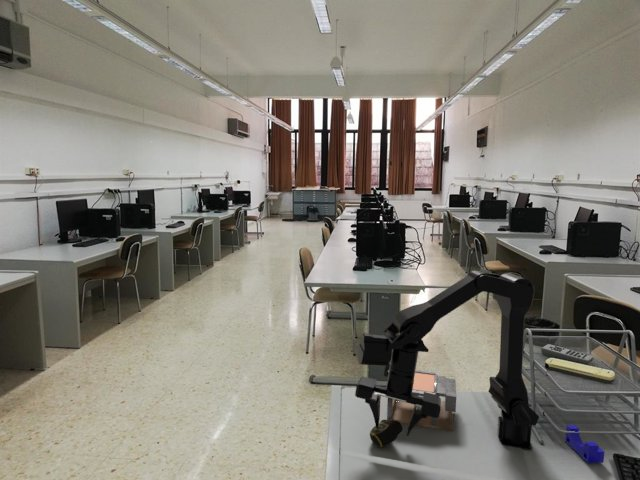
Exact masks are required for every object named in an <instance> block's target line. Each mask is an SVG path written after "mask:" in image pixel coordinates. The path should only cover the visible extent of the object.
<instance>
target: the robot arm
mask: <svg viewBox="0 0 640 480" xmlns="http://www.w3.org/2000/svg"><path fill="white" fill-rule="evenodd" d="M483 292H486V293H490V294H493V295H495V298H496V301H497V305H498V306H499V309H500V312H501V318H500V319H501V321H500V343H499V344H500V346H499V368H498V372H497V374H496V375H495V376H490V377H489V389H488V391H487V392H488V393H489V394H490V396H491V398H492V400H493V401H494V402H495V403H496V405H497V407H498V408H499V409H500V410H501V411H500V415H499V416H498V417H497V430H496V431H497V432H496V434H497V437H498V439H499V440H500V444H501V445H503V446H507V447H512V448H520V449H523V450H528V451H529V450H533V446H532V444H531V440H532V426H536V425H537V423H538V421H539V418H540V416H539V415H538V414H537V412H535V411H534V410H533V409H532V408H531V407H530V402H529V400H530V399H529V394H528V389H527V386H526V384H525V381H524V378H523V363H524V362H523V359H524V358H523V357H524V355H523V354H524V339H525V337H524V336H525V319H526V318H525V317H526V316H527V315H526V314H527V313H528V312H529V311H530V309H531V307H532V304H533V301H534V296H535V286H534V284H532V282H531V281H530V280H529V279H526V278H524V277H522V276H519V275H517V274H514V273H512V272H511V273H510V272H506V273H502V274H501V275H500V274H496V273H491V272H490V273H489V272H482V271H480V270H471V271H470V272H469V273H468V274H467V275H466V276H464V277H463V278H461V279H460V280H458V281H457V282H455V283H454V284H452V285H450V286H449V287H448V288H446V289H444V290H443V291H441V292H440V293H438V294H437V295H435V296H434V297H432V298H430V299H429V300H428V301H425V302H423V303H420V304H414V305H410V306H408V307H406V308H404V309H401V310H399V311H398V312H397V313H395V315H394V318H393V319H394V320H393V321H392V322H391V323H390V324H389V325H388V326H387V327H386V328H385V329H384V331H382V335H381V334H380V335H379V334H371V333H367V332H363V333H362V337H361V338H360V341H359V343H358V344H357V362H358V364H359V365H361V366H362V365H363V366H376V367H384V371H383V377H384V378H387V381H386V387H383V386H380V385H377V384H378V380H377V379H374V378H371V377H367V376H362V377H360V378H359V380H358V382H357V384H356V387H355V393H354V396H355V397H356V398H358V399H362V400H364V402H365V403H366V404H368V405H369V408H370V409H371V413H372V415H373V419H374V423H375V426H376V427H378V426H379V423H380V421H381V420H380V417H381V416H380V415H381V414H380V413H381V399H382V397H385V398H387V399H388V398H391V399H395V400H399V401H403V402H407V403H410V404H414V409H413V412H412V415H411V419H410V422H409V424H407V429H406V436H407V437H408V436H410V434H411V433H412V431H413V429H414V428H415V426H417V425H416V424H417V423H418V422H419V421H420V420H421V419H422V418H425V419H426V418H427V416H430V417H434V418H439V414H440V408H441V401H442V398H441V396H439V395H435V394H431V393H427V392H424V394H423V396H416V395H412V390H413V384H414V376H415V370H417V365H418V364H417V362H418V358H419V352H422V353H428V352H429V348H428V347H427V346H426V345H425V343H424V340H423V338H425V337H426V336H427V335H428V334H429V333H430V332H432V330H433V328H434V327H435V325H436V324H437V322H439V321H440V320H441V319H443V317H446V316H447V315H449V314H450V313H452V312H454V311H455V310H456V309H458V308H459V307H460V306H463V305H464V304H466V303H467V302H469V301H470V300H473V299H474V298H475V297H477V296H478V295H479V294H481V293H483ZM397 334H398V335H397Z"/></svg>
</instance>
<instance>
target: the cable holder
mask: <svg viewBox="0 0 640 480" xmlns="http://www.w3.org/2000/svg"><path fill="white" fill-rule="evenodd" d="M566 430H567V431H575V432H578V431H579V433H566V432H565V438H564V439H565V440H566V441H567V442H568V443H567V442H566V441H565V442H566V443H567V444H568V445H569V444H570V445H569V447H571V448H572V449H573V451H575V452H576V454H578V455H579V456H580V457H581V458H582V460H584V461H586V463H588V464H596V463H599V464H601V463H603V464H604V459H605V450H603V449H602V448H601V447H600V446H599V445H598V444H597V443H596V442H595V441H584V442H583V441H582V439H581V436H580V428H579V427H578V426H577V425H576V424H573V425H572V424H570V425H569V424H566V429H565V431H566Z"/></svg>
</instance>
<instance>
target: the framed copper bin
mask: <svg viewBox="0 0 640 480" xmlns="http://www.w3.org/2000/svg"><path fill="white" fill-rule="evenodd" d="M415 373H421V374H429V375H437V372H436V371H427V370H420V369H416V370H415ZM427 393H431V394H435V393H432V392H427ZM423 394H424V391H417V390H412V395H416V396H423ZM396 401H397V402H396ZM398 401H399V400H395V399H391V398H387V405H386V406H387V407H386V409H387V411H386V420H391V421H398V422H400V423H401V424H406V425H409V422H410V419H411V415H412V412H413V409H414V404H410V403H407V402H403V401H399V402H398ZM453 419H454V418H453V412H451V411H445V400H444V401H443V400H441V408H440V414H439V418H434V417H430V416H427V418H426V419H425V418H422V419H421V420H420V421H419V422H418V423H417V424H416V425H415V426H418V427H424V428H425V427H426V428H430V429H431V428H432V429H436V430H437V429H438V430H444V431H448V432H449V431H450V432H454V428H453V427H454V425H453V423H454V422H453V421H454V420H453Z"/></svg>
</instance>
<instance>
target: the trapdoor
mask: <svg viewBox="0 0 640 480" xmlns="http://www.w3.org/2000/svg"><path fill="white" fill-rule="evenodd" d="M456 382H457V381H456V378H449V377H448V378H447V377H446V376H444V375H437V374H436V375H429V374H421V373H415V376H414V384H413V390H417V391H424V392H432V393H435V395H439V397H443V398H444V401H445V411H451V412H452V413H456V411H457V410H456V409H457V386H456V385H457V384H456Z"/></svg>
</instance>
